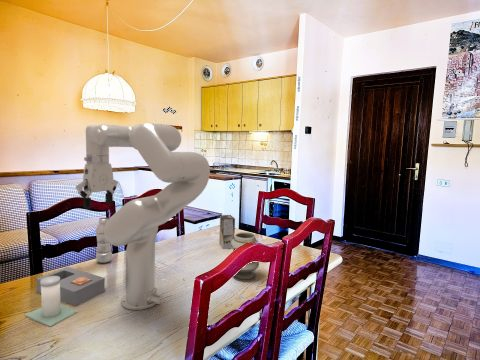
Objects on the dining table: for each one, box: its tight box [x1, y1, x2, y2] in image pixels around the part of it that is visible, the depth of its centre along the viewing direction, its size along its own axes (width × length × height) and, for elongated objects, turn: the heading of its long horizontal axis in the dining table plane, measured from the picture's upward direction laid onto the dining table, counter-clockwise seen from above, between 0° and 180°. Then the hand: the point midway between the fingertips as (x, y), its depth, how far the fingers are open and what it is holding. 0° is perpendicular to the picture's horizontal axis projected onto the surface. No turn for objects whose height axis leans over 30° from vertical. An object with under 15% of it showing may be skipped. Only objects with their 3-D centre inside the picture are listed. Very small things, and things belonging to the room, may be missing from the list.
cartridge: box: [40, 276, 62, 317], centre depth 96 cm, size 5×5×11 cm
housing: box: [35, 266, 106, 307], centre depth 111 cm, size 20×12×5 cm, turn 65°
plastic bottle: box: [95, 217, 113, 264], centre depth 137 cm, size 6×7×20 cm
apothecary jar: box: [231, 231, 260, 282], centre depth 128 cm, size 12×12×18 cm
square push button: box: [72, 277, 91, 286], centre depth 108 cm, size 4×4×6 cm
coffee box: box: [218, 214, 236, 250], centre depth 165 cm, size 9×6×16 cm
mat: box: [24, 304, 79, 328], centre depth 96 cm, size 12×9×1 cm
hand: (98, 206), depth 114 cm, fingers open, 9 cm apart
